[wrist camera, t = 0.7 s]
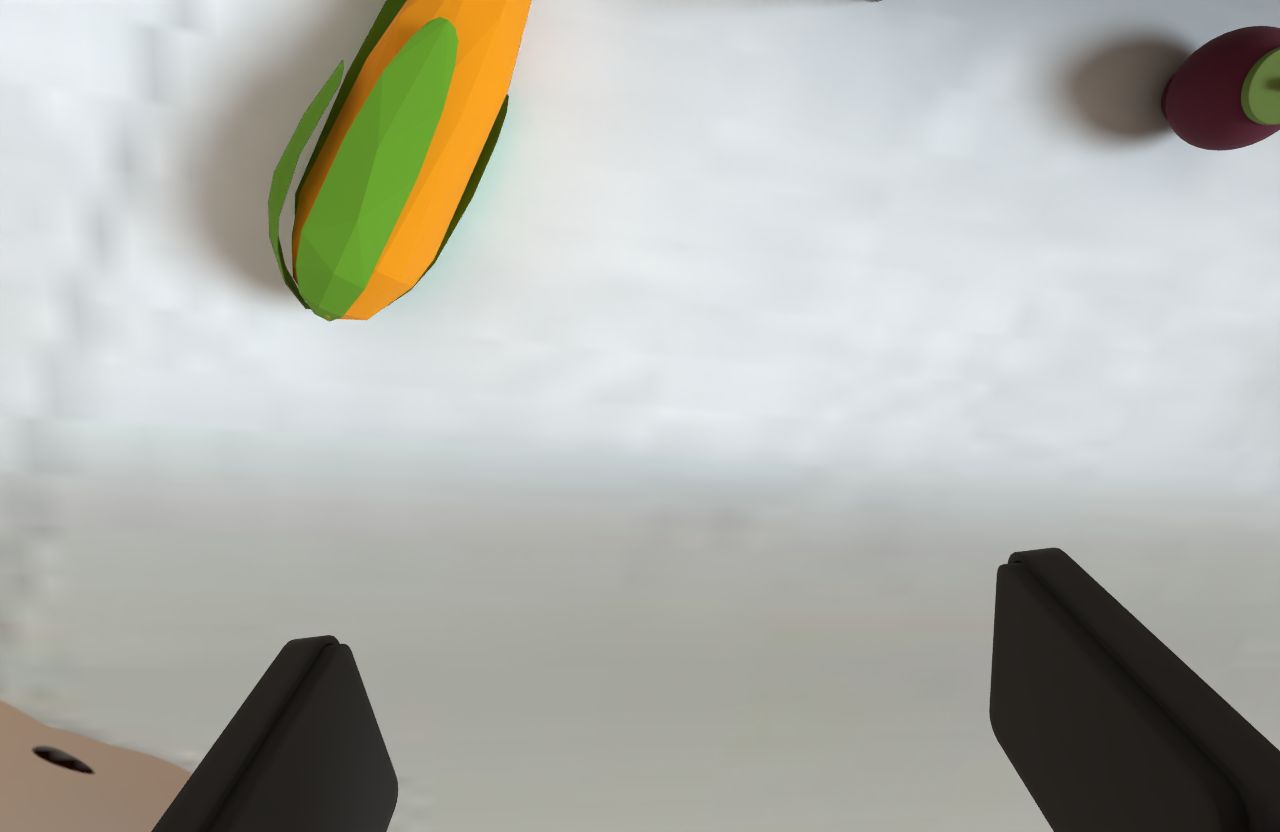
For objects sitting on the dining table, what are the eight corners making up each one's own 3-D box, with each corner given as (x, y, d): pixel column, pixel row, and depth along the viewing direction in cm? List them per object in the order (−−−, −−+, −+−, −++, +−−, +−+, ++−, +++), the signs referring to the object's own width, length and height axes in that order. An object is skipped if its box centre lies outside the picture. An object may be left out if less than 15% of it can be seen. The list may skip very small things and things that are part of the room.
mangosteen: (1137, 53, 32) (1239, 33, 27) (1247, 23, 32) (1373, -4, 27) (1137, 162, 34) (1232, 164, 29) (1241, 135, 34) (1358, 131, 28)
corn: (195, 288, 28) (406, -228, 22) (274, 255, 35) (451, -144, 29) (364, 376, 30) (600, -77, 24) (407, 328, 37) (598, -32, 31)
